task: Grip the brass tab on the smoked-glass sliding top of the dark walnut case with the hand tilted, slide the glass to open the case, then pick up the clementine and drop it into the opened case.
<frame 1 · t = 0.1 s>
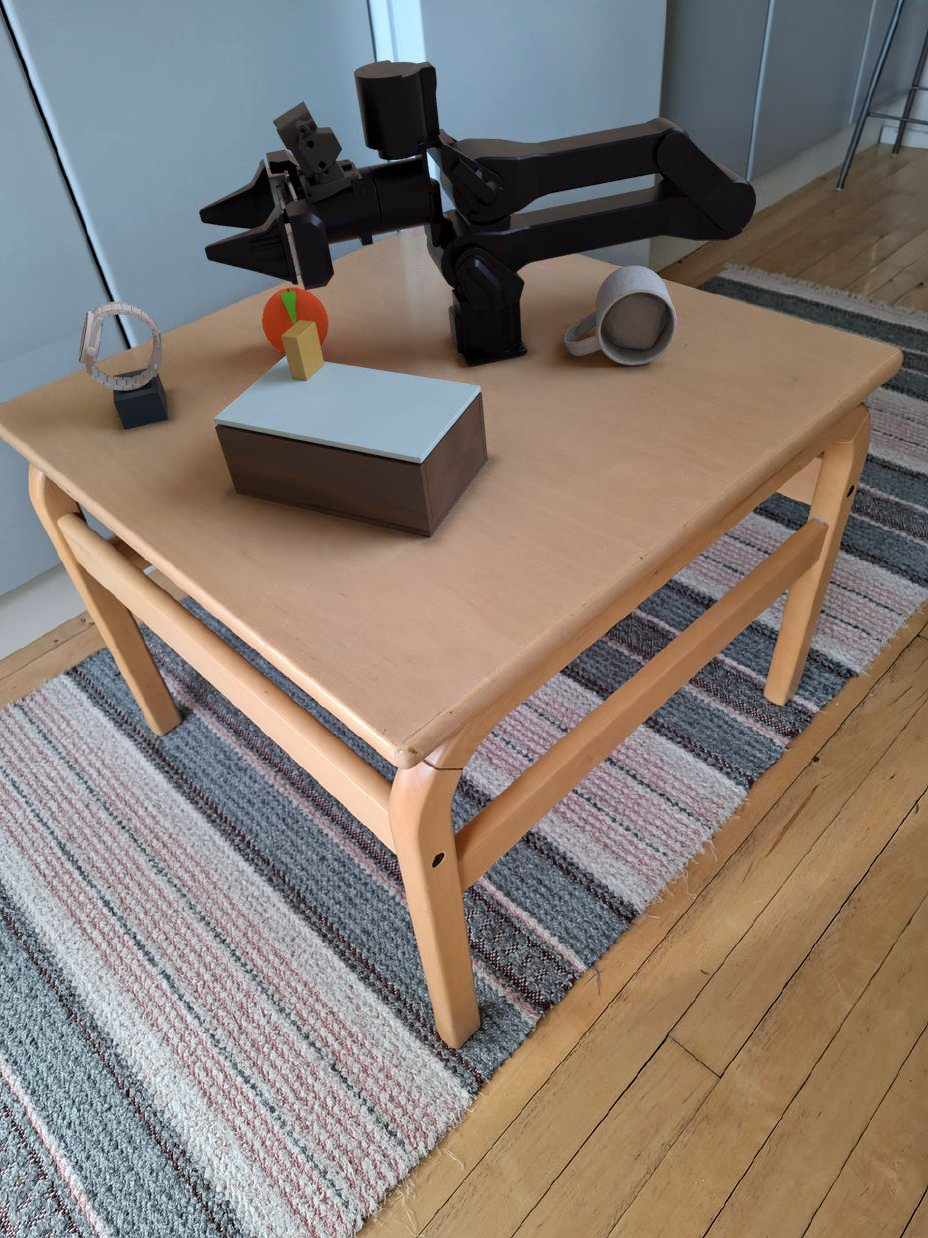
hand: (202, 234, 80), 17 cm above the table, tool horizontal, fingers open, 9 cm apart
ceramic mug: (618, 350, 92), on the table
watch: (145, 413, 92), on the table
case: (362, 476, 80), on the table
clementine: (303, 356, 98), on the table
lid: (342, 382, 74), point 9 cm above the table, slide at 0.0 cm
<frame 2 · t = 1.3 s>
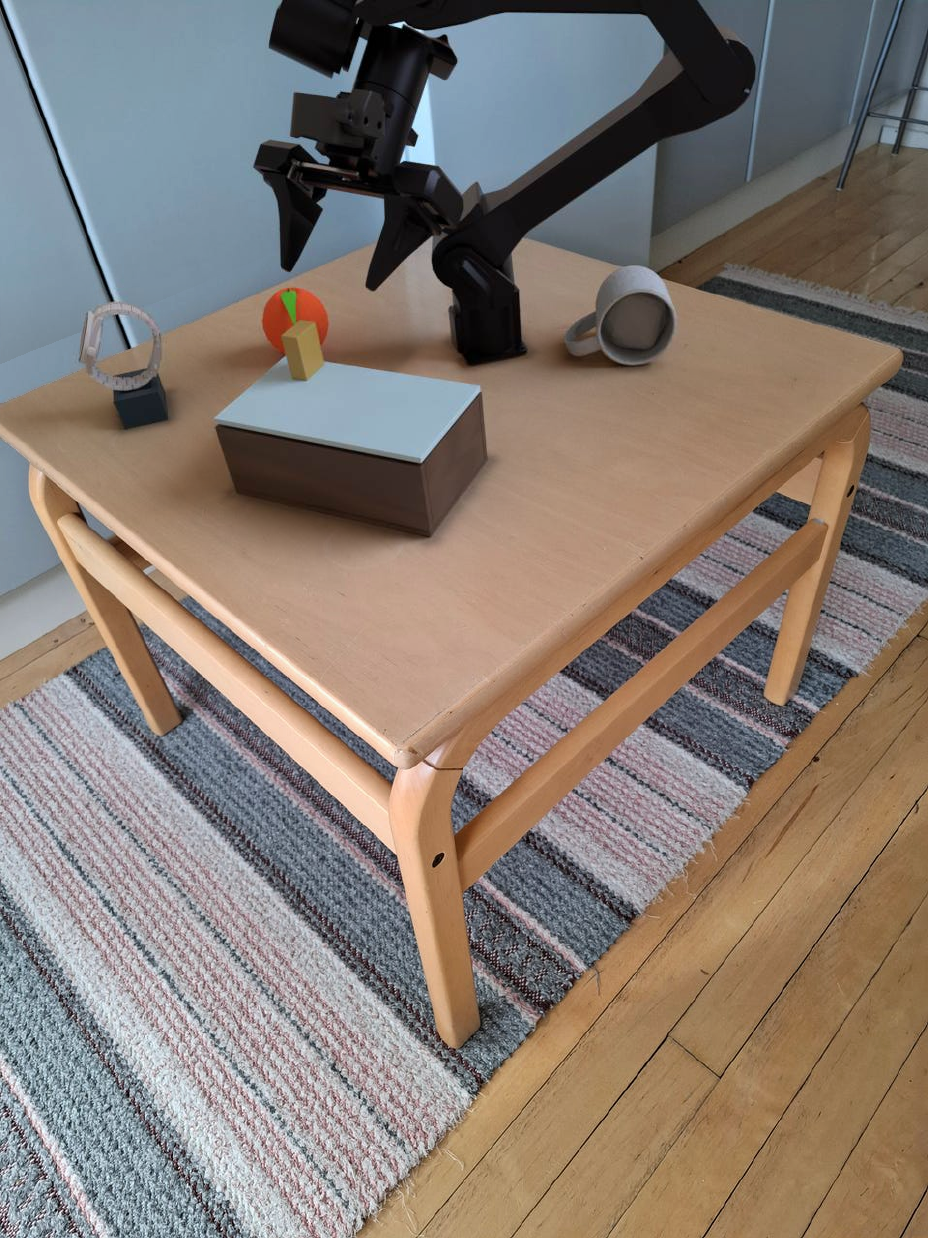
hand: (326, 279, 78), 13 cm above the table, tool tilted 45°, fingers open, 9 cm apart
nothing on the table moved.
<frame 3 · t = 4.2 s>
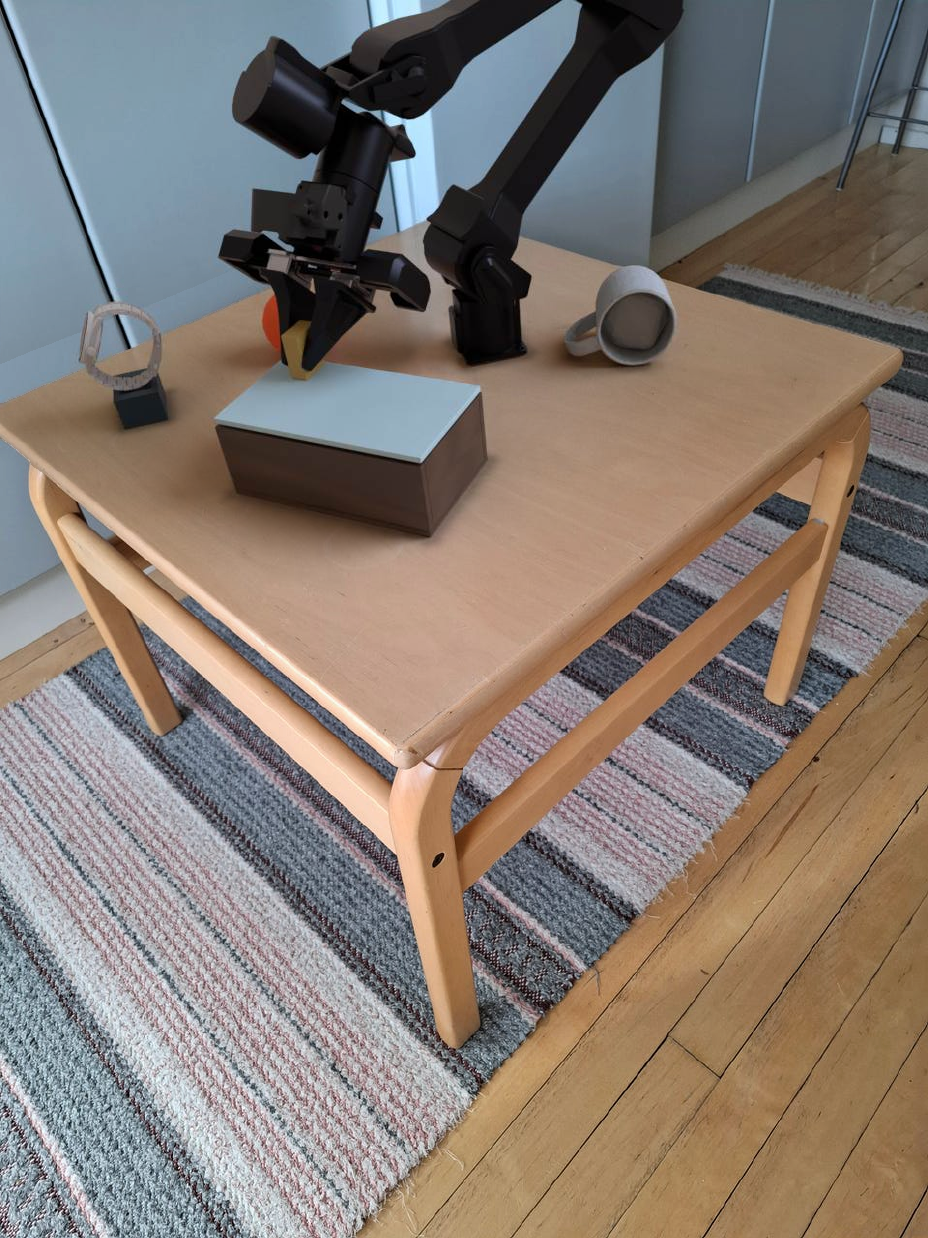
hand: (296, 367, 78), 9 cm above the table, tool tilted 45°, fingers closed on lid, 2 cm apart
lid: (342, 382, 74), point 9 cm above the table, slide at 0.0 cm, touching gripper
everything else where it was.
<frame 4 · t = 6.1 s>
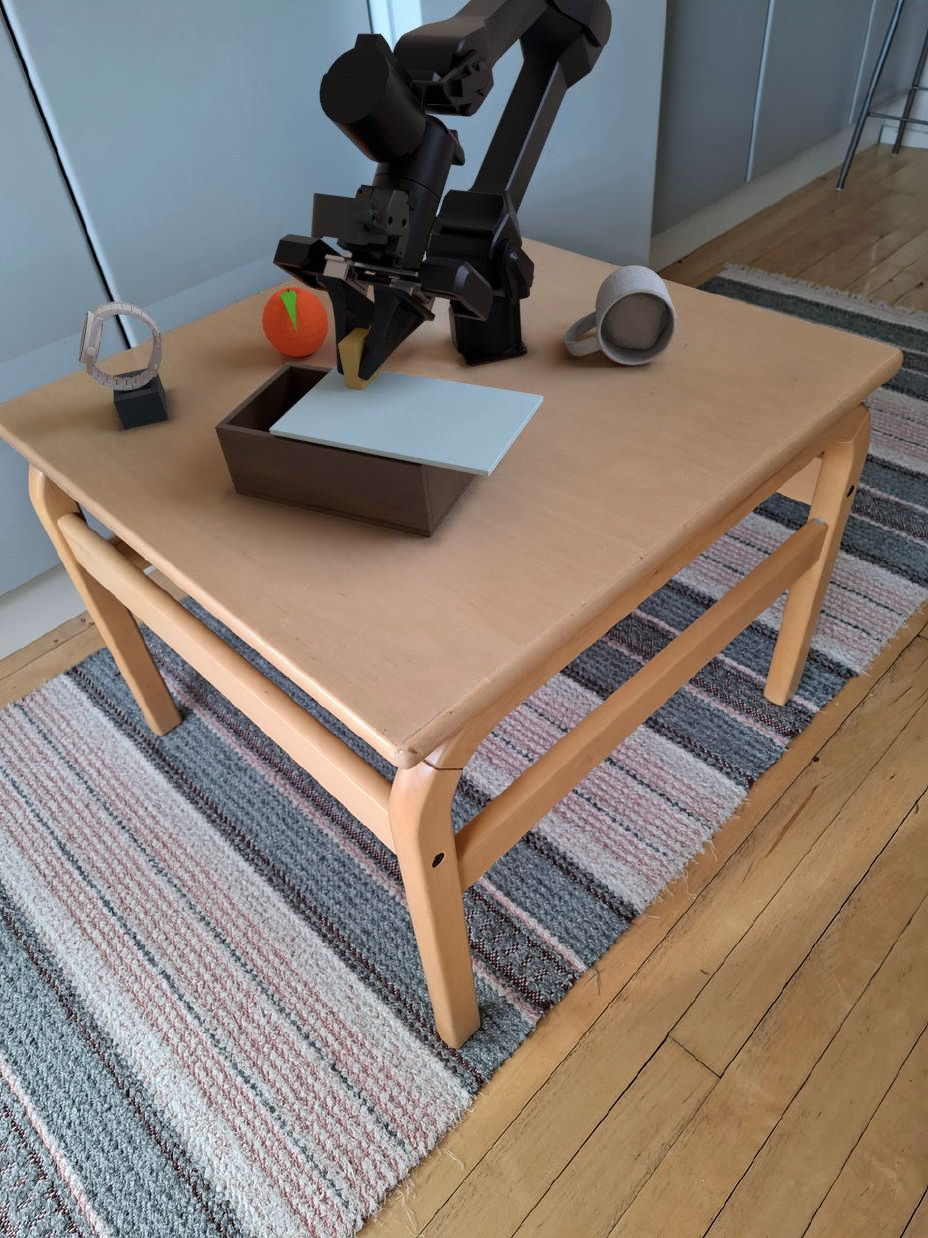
hand: (352, 376, 75), 9 cm above the table, tool tilted 45°, fingers closed on lid, 2 cm apart
lid: (403, 392, 72), point 9 cm above the table, slide at 5.6 cm, touching gripper
everything else where it was.
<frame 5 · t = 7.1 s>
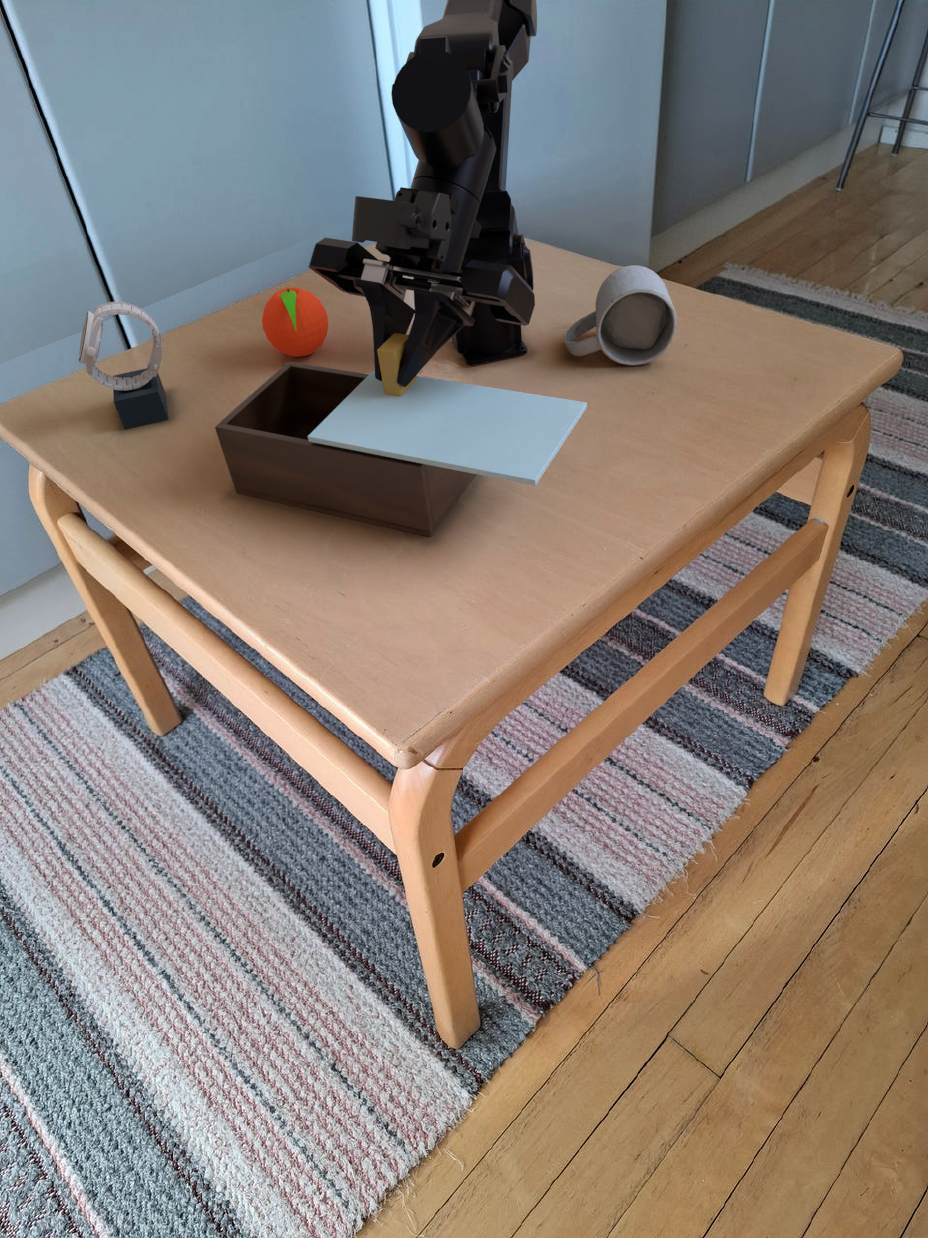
hand: (390, 382, 74), 9 cm above the table, tool tilted 45°, fingers closed on lid, 2 cm apart
lid: (444, 399, 70), point 9 cm above the table, slide at 9.3 cm, touching gripper
everything else where it was.
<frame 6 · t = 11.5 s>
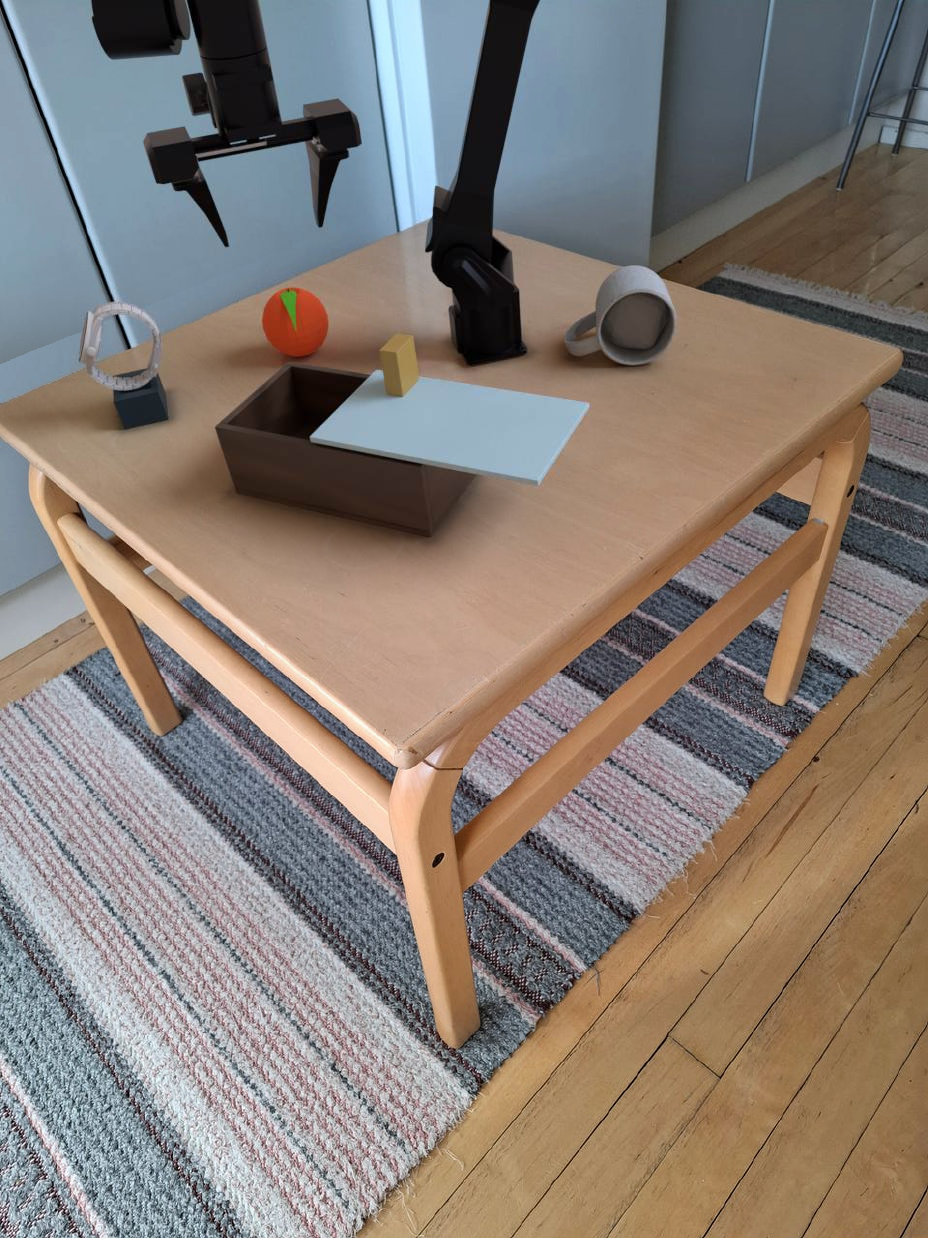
hand: (273, 235, 87), 13 cm above the table, tool pointing down, fingers open, 9 cm apart
lid: (446, 399, 70), point 9 cm above the table, slide at 9.5 cm
everything else where it was.
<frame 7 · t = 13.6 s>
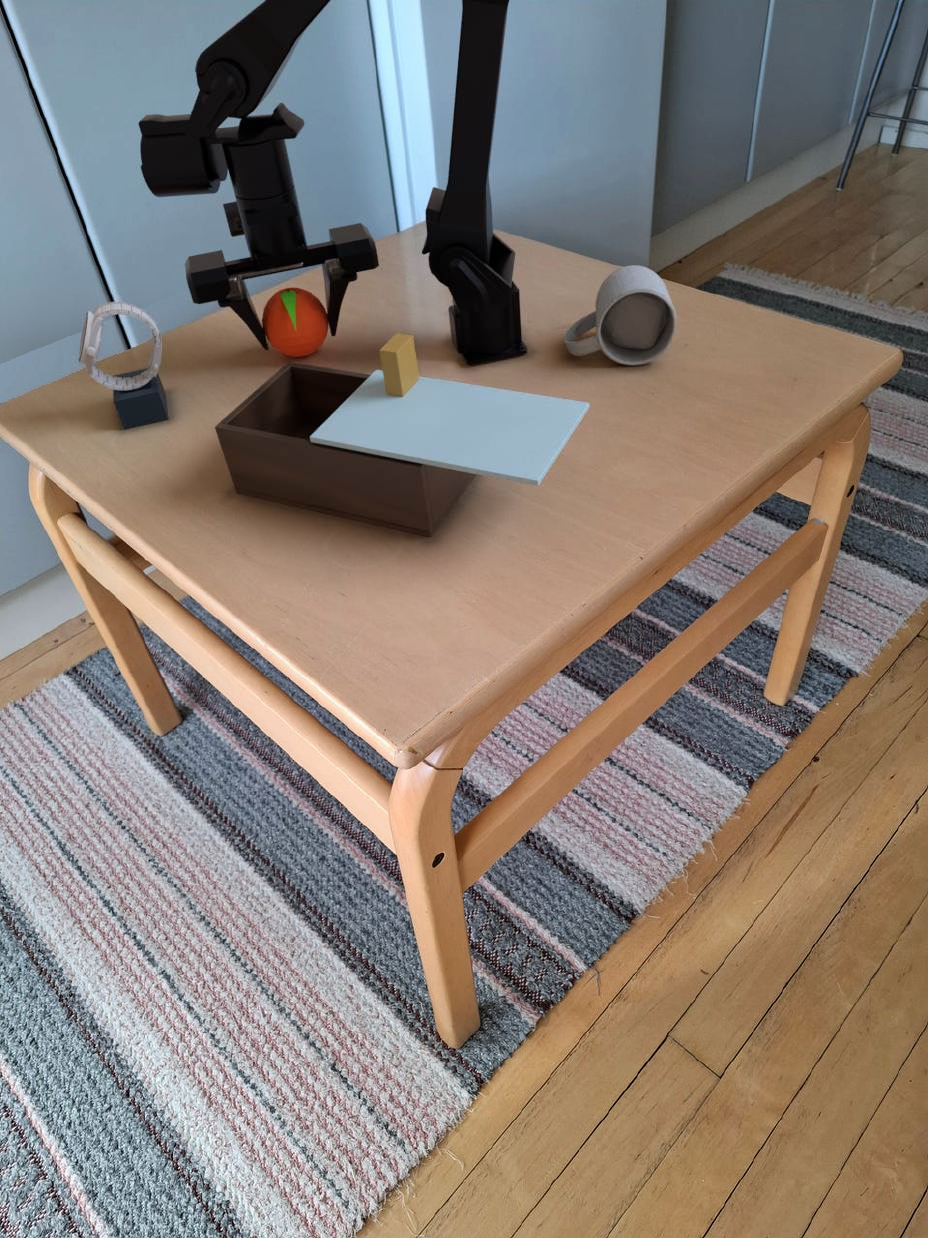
hand: (300, 341, 96), 2 cm above the table, tool pointing down, fingers closed on clementine, 7 cm apart
clementine: (303, 356, 98), on the table, touching gripper
everything else where it was.
when the fingers open (6 cm above the table, at t = 19.3 s): clementine drops 4 cm, resting on case.
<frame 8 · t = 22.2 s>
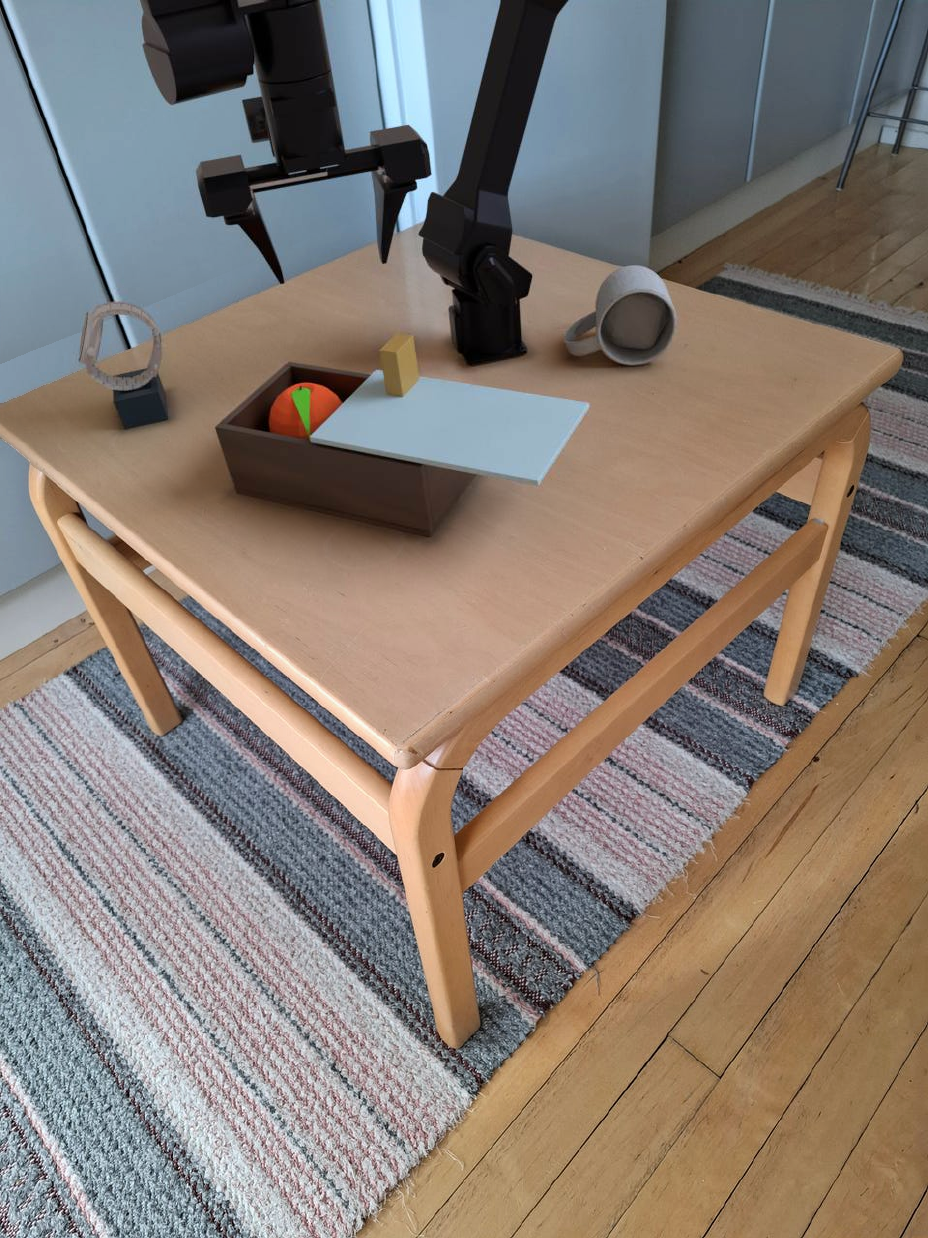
hand: (333, 272, 80), 13 cm above the table, tool pointing down, fingers open, 9 cm apart
clementine: (318, 461, 81), point 1 cm above the table, touching case
everything else where it was.
at the end: lid slide at 9.5 cm; clementine inside the target area on the case (4.6 cm from its centre), point 0.5 cm above the case's base; the gripper is holding nothing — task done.
